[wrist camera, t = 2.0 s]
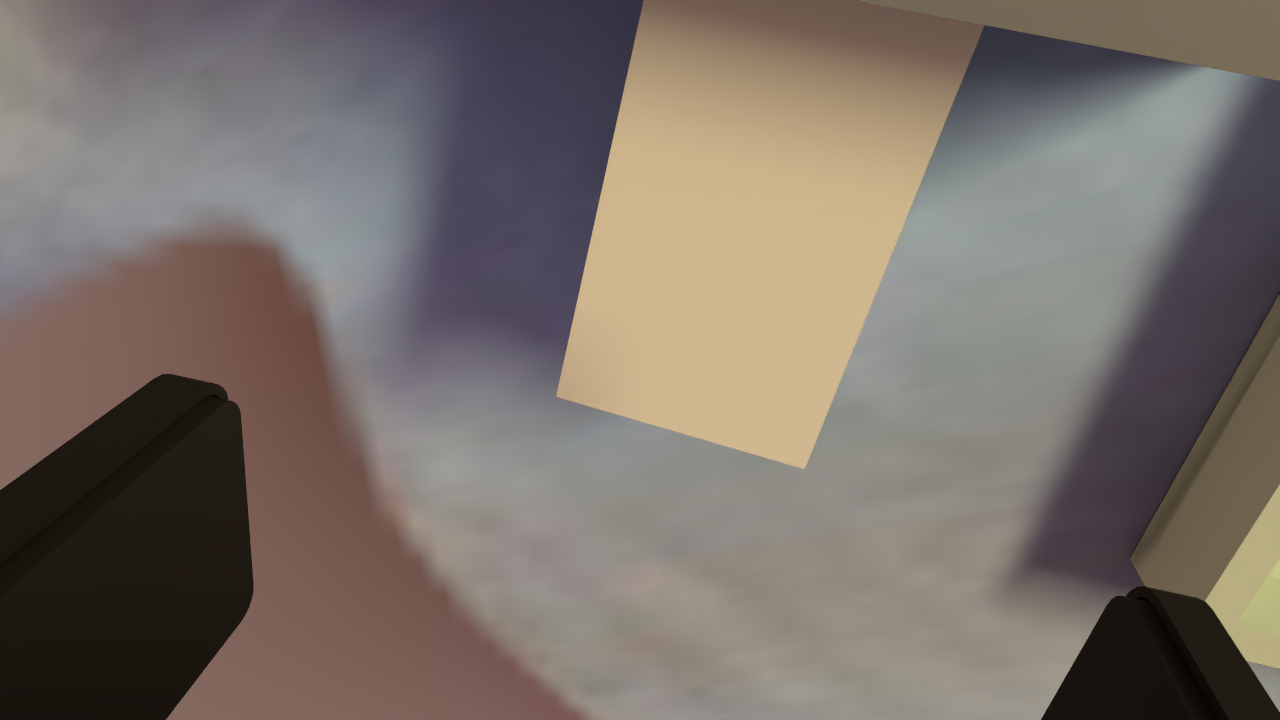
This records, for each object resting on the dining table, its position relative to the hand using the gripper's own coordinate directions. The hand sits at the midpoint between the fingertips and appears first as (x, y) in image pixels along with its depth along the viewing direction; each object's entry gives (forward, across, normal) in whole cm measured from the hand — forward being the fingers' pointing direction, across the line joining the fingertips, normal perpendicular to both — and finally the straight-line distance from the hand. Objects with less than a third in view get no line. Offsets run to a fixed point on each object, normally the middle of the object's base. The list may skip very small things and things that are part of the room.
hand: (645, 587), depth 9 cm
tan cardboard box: (+15, -1, -4) cm, 16 cm away
